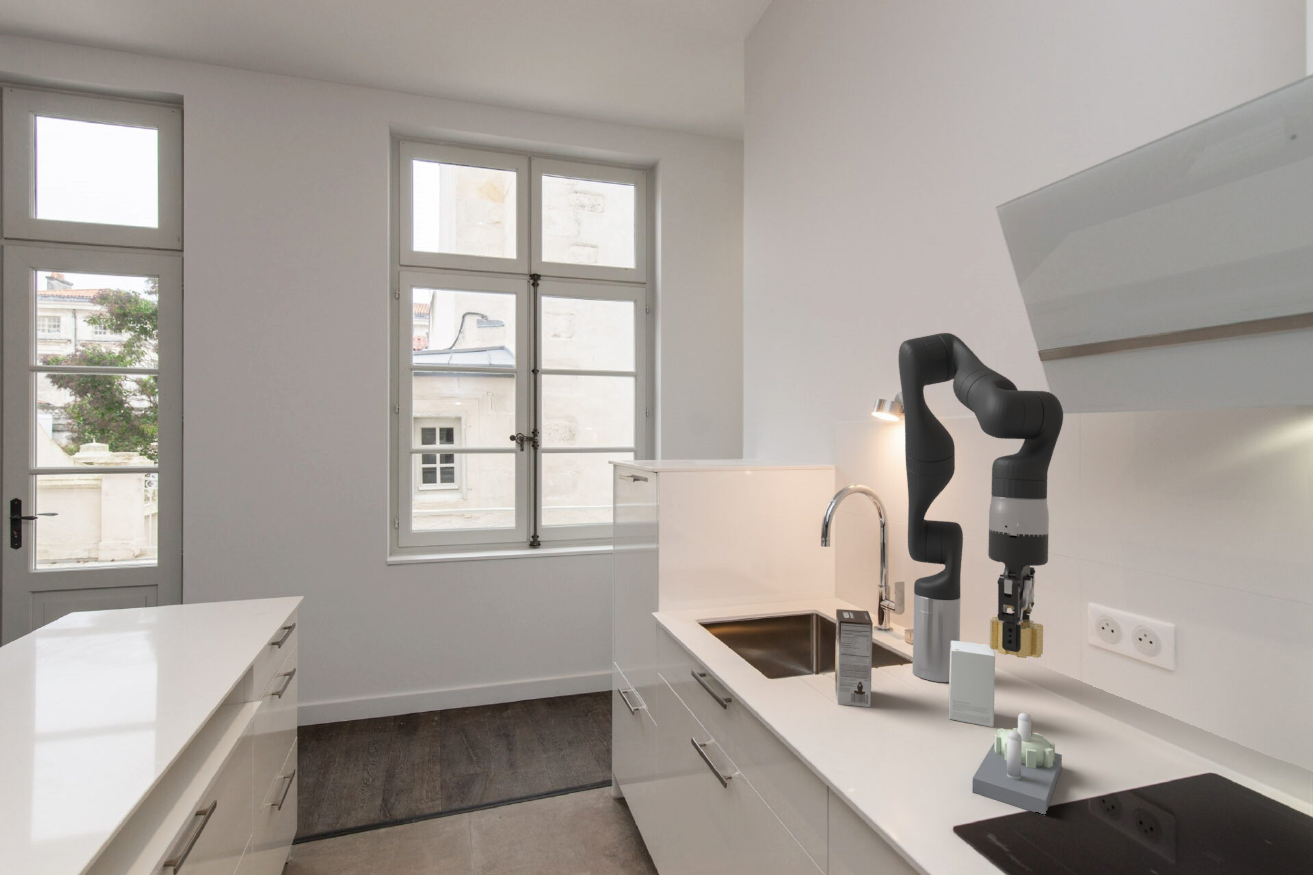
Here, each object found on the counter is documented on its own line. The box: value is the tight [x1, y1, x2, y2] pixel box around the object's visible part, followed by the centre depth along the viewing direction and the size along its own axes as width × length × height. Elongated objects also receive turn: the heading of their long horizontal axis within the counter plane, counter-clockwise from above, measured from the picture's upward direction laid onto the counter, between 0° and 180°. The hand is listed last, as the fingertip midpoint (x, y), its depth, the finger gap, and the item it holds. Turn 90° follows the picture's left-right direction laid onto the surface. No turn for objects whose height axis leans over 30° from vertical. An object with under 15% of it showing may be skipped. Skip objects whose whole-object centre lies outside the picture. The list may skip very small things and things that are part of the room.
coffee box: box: [834, 608, 874, 708], centre depth 127 cm, size 9×6×16 cm
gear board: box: [971, 712, 1063, 815], centre depth 96 cm, size 17×9×8 cm, turn 142°
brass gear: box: [989, 616, 1044, 659], centre depth 93 cm, size 6×6×4 cm
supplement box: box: [948, 640, 996, 728], centre depth 119 cm, size 7×7×13 cm
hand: (1015, 644), depth 93 cm, fingers closed on brass gear, 6 cm apart
